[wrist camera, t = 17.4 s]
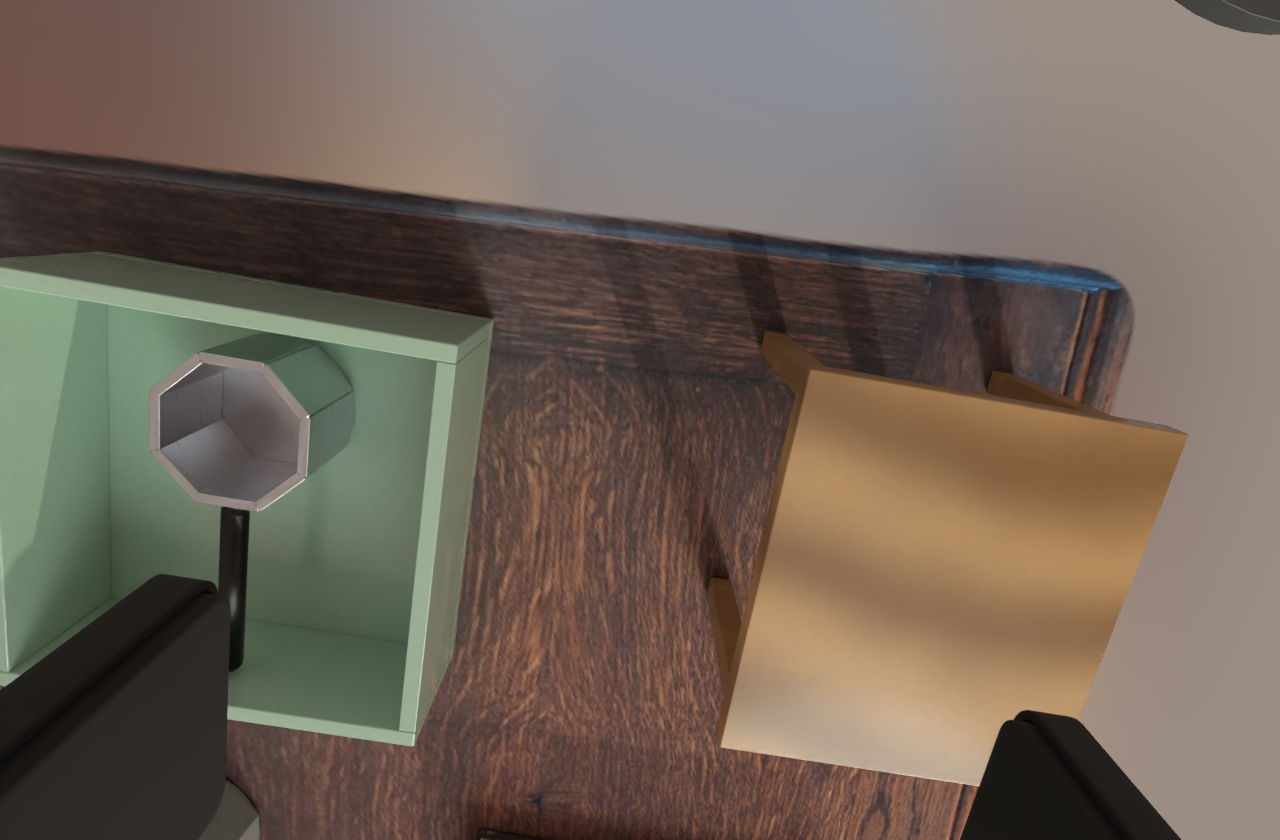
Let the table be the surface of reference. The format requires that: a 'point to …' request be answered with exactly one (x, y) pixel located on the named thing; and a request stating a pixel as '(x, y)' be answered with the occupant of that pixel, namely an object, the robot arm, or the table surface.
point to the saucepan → (248, 437)
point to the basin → (278, 535)
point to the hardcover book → (500, 836)
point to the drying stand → (931, 567)
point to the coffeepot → (233, 818)
